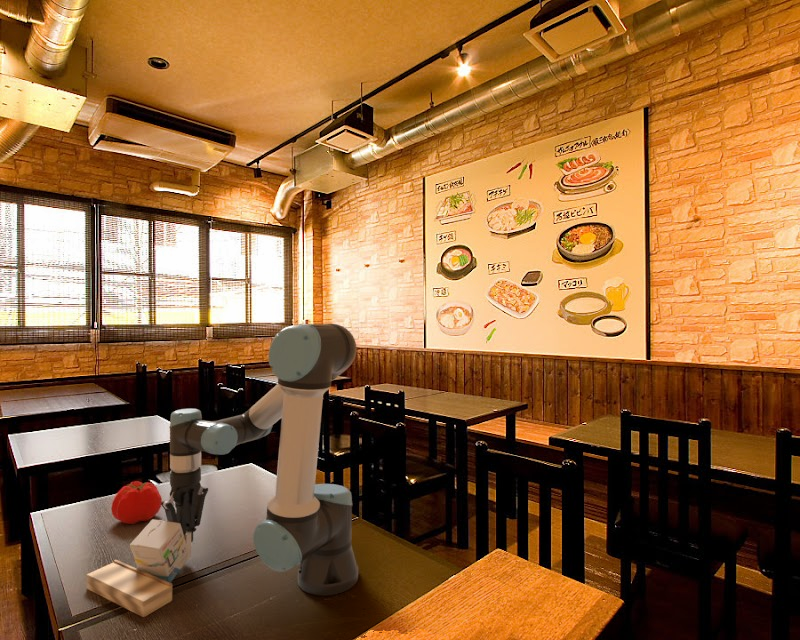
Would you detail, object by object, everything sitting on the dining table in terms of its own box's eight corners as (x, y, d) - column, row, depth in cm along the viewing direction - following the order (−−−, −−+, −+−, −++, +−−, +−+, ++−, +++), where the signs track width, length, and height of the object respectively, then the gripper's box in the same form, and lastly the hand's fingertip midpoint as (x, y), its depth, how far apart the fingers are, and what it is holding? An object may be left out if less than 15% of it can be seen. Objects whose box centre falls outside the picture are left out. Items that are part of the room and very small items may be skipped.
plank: (172, 600, 110) (172, 583, 110) (143, 617, 103) (143, 599, 103) (116, 574, 120) (116, 559, 120) (87, 588, 114) (86, 572, 114)
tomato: (164, 522, 150) (164, 485, 150) (112, 533, 142) (112, 494, 142) (158, 507, 161) (158, 473, 161) (110, 517, 153) (109, 481, 153)
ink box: (169, 584, 116) (158, 549, 112) (140, 579, 118) (127, 545, 113) (191, 556, 124) (181, 522, 119) (162, 551, 125) (152, 517, 121)
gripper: (196, 459, 132) (196, 542, 133) (153, 473, 121) (153, 564, 121) (215, 463, 129) (215, 549, 129) (173, 478, 117) (173, 572, 118)
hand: (185, 556), depth 125 cm, fingers closed
